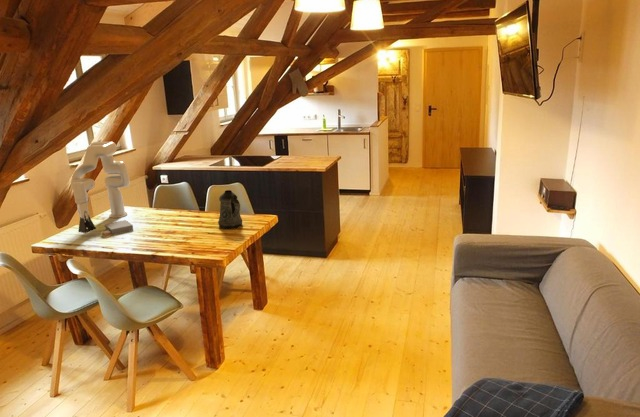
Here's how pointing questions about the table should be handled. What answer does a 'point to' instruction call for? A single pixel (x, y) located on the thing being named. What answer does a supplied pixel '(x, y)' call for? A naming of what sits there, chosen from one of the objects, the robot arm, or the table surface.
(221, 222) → the dark grey upright piece
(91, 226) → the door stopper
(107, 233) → the walnut offcut
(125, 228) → the stand
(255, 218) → the table surface
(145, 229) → the table surface
